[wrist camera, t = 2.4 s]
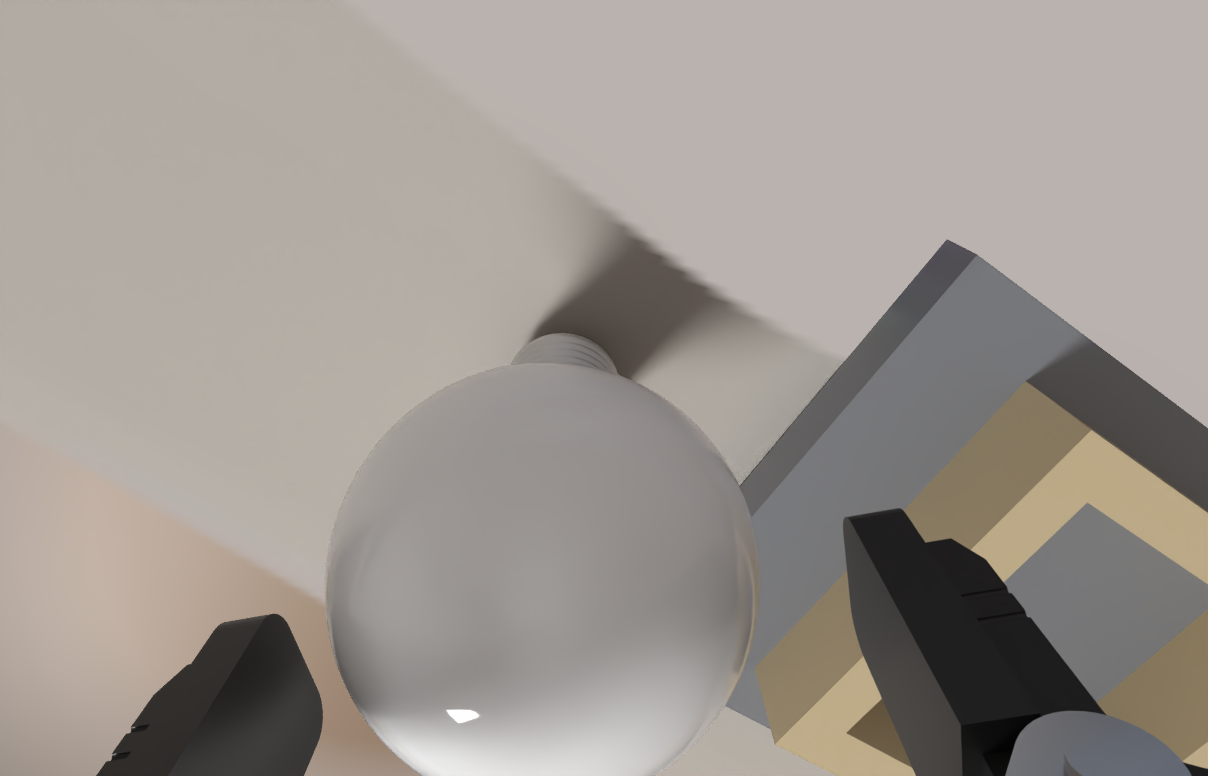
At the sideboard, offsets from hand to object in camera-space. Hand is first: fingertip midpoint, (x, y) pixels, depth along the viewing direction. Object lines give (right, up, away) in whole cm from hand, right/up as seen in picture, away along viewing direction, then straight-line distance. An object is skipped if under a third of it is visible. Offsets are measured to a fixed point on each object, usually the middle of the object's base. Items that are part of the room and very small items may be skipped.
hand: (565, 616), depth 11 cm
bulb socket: (+12, -2, +11) cm, 16 cm away
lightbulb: (0, +4, +8) cm, 9 cm away
